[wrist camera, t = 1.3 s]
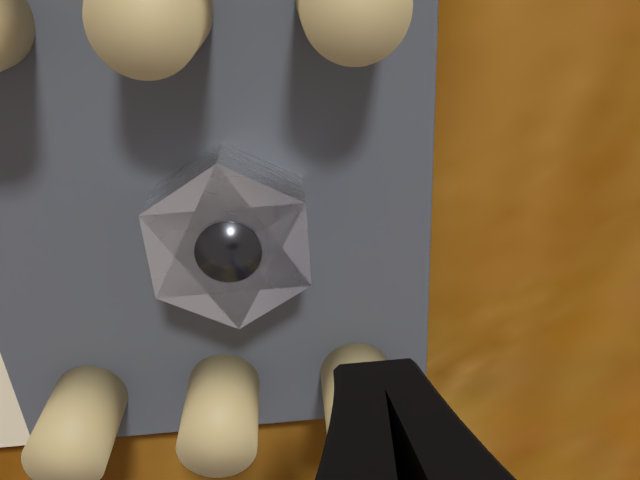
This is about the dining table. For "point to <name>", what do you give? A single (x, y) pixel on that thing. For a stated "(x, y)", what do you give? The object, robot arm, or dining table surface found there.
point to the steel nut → (227, 236)
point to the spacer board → (166, 159)
